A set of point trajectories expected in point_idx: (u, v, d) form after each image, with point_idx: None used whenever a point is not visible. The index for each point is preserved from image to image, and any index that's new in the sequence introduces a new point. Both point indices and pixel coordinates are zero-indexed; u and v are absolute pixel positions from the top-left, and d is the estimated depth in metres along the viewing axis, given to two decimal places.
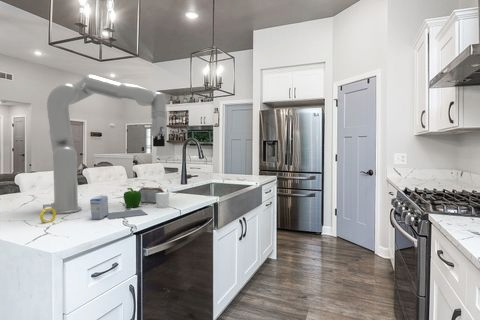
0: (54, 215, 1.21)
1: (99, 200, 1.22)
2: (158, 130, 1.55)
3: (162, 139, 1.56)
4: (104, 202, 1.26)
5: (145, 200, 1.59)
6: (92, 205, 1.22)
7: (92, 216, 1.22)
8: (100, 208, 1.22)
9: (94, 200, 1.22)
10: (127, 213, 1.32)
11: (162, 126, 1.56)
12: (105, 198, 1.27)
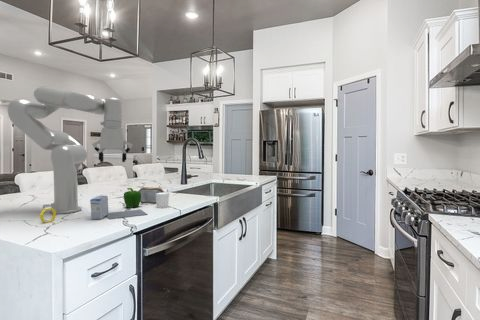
0: (54, 215, 1.21)
1: (99, 200, 1.22)
2: (123, 143, 1.34)
3: None
4: (104, 202, 1.26)
5: (145, 200, 1.59)
6: (92, 205, 1.22)
7: (92, 216, 1.22)
8: (100, 208, 1.22)
9: (94, 200, 1.22)
10: (127, 213, 1.32)
11: (124, 139, 1.36)
12: (105, 198, 1.27)
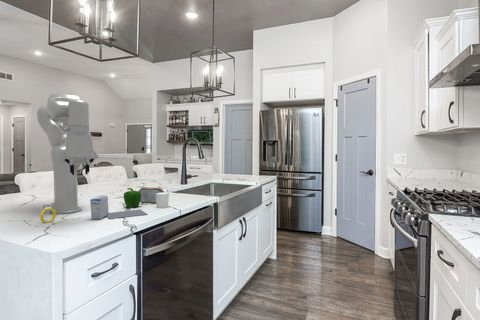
0: (54, 215, 1.21)
1: (99, 200, 1.22)
2: (93, 151, 1.22)
3: None
4: (104, 202, 1.26)
5: (145, 200, 1.59)
6: (92, 205, 1.22)
7: (92, 216, 1.22)
8: (100, 208, 1.22)
9: (94, 200, 1.22)
10: (127, 213, 1.32)
11: None
12: (105, 198, 1.27)
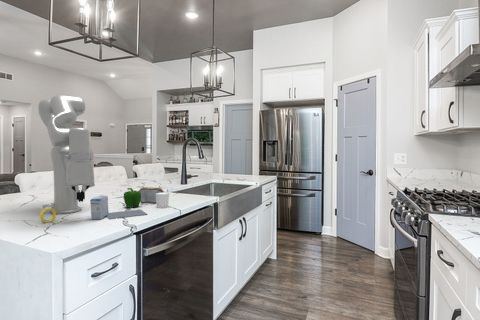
0: (54, 215, 1.21)
1: (99, 200, 1.22)
2: None
3: (84, 192, 1.22)
4: (104, 202, 1.26)
5: (145, 200, 1.59)
6: (92, 205, 1.22)
7: (92, 216, 1.22)
8: (100, 208, 1.22)
9: (94, 200, 1.22)
10: (127, 213, 1.32)
11: None
12: (105, 198, 1.27)
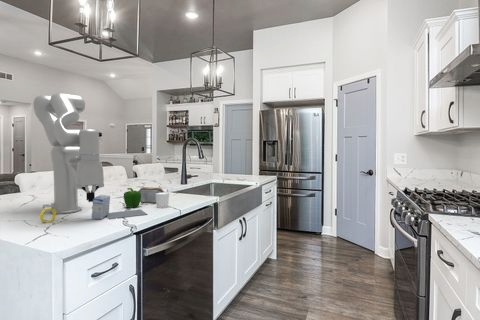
0: (54, 215, 1.21)
1: (102, 201, 1.22)
2: (103, 178, 1.24)
3: (94, 192, 1.24)
4: (106, 202, 1.26)
5: (145, 200, 1.59)
6: (94, 204, 1.22)
7: (92, 215, 1.22)
8: (102, 208, 1.22)
9: (97, 200, 1.21)
10: (127, 213, 1.32)
11: None
12: (108, 198, 1.27)
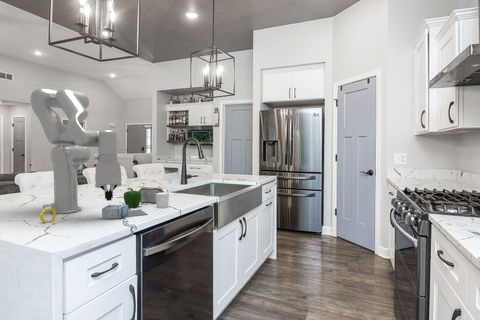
0: (54, 215, 1.21)
1: (121, 217, 1.23)
2: None
3: (112, 191, 1.28)
4: None
5: (145, 200, 1.59)
6: (116, 210, 1.23)
7: (104, 209, 1.22)
8: (112, 217, 1.23)
9: (121, 212, 1.23)
10: None
11: None
12: None
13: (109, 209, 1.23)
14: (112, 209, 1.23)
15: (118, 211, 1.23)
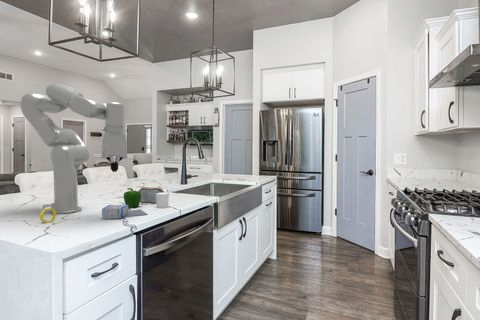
0: (54, 215, 1.21)
1: (121, 217, 1.23)
2: None
3: None
4: None
5: (145, 200, 1.59)
6: (116, 210, 1.23)
7: (104, 209, 1.22)
8: (112, 217, 1.23)
9: (121, 212, 1.23)
10: None
11: None
12: None
13: (109, 209, 1.23)
14: (112, 209, 1.23)
15: (118, 211, 1.23)
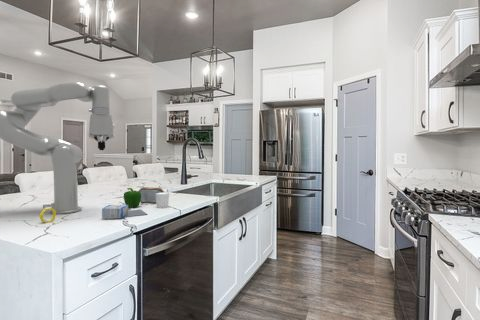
0: (54, 215, 1.21)
1: (121, 217, 1.23)
2: None
3: None
4: None
5: (145, 200, 1.59)
6: (116, 210, 1.23)
7: (104, 209, 1.22)
8: (112, 217, 1.23)
9: (121, 212, 1.23)
10: None
11: None
12: None
13: (109, 209, 1.23)
14: (112, 209, 1.23)
15: (118, 211, 1.23)
